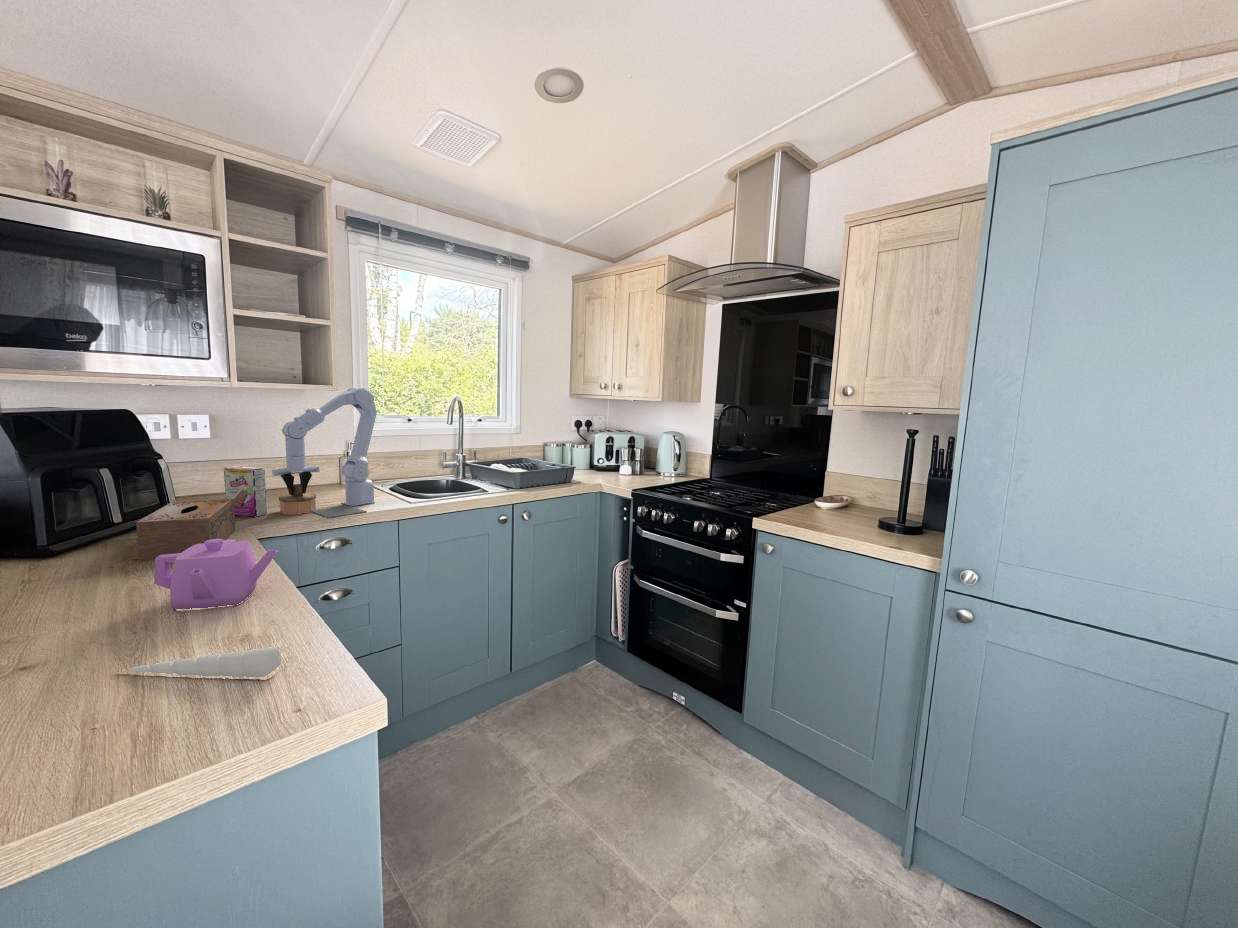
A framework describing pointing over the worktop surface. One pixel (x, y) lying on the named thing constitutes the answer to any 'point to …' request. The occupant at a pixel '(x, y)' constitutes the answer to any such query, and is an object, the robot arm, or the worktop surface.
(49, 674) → the worktop surface
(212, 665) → the unicorn horn
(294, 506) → the bowl
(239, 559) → the teakettle
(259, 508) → the candy bar box
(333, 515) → the mat
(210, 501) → the tissue box cover
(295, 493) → the lid
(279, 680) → the worktop surface
